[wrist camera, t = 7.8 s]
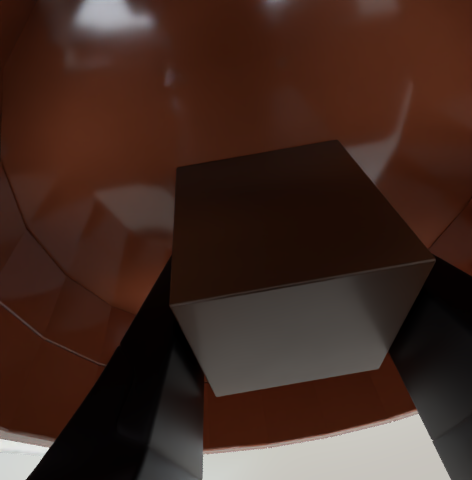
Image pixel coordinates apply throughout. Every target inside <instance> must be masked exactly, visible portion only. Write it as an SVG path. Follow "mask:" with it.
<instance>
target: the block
mask: <svg viewBox="0 0 472 480" xmlns="http://www.w3.org/2000/svg"><path fill="white" fill-rule="evenodd" d="M435 262H436V258H435V257H434V256H433V255H432V253H431V252H430V251H429V250H428V249H427V247H426V246H425V245H424V244H423V242H422V241H421V240H420V239H419V238H418V236H417V235H416V234H415V233H414V232H413V230H412V229H411V228H410V227H409V226H408V224H407V223H406V222H405V221H404V219H403V218H402V217H401V216H400V215H399V213H398V212H397V211H396V210H395V209H394V207H393V206H392V205H391V204H390V202H389V201H388V200H387V199H386V198H385V196H384V195H383V194H382V193H381V192H380V190H379V189H378V188H377V187H376V185H375V184H374V183H373V182H372V181H371V179H370V178H369V177H368V176H367V175H366V173H365V172H364V171H363V170H362V168H361V167H360V166H359V165H358V164H357V162H356V161H355V160H354V159H353V158H352V156H351V155H350V154H349V153H348V151H347V150H346V149H345V148H344V147H343V145H342V144H341V143H340V142H339V141H338V140H332V141H326V142H320V143H314V144H309V145H303V146H297V147H292V148H286V149H280V150H274V151H269V152H263V153H257V154H251V155H246V156H240V157H234V158H229V159H223V160H217V161H211V162H206V163H200V164H194V165H188V166H183V167H178V168H176V184H175V204H174V223H173V243H172V263H171V282H170V302H169V306H170V308H171V310H172V312H173V314H174V316H175V318H176V320H177V322H178V324H179V326H180V328H181V330H182V332H183V334H184V336H185V338H186V339H187V341H188V343H189V345H190V347H191V349H192V351H193V353H194V355H195V357H196V359H197V361H198V363H199V365H200V367H201V369H202V371H203V373H204V375H205V377H206V379H207V381H208V383H209V384H210V386H211V388H212V390H213V392H214V394H215V396H216V397H220V396H225V395H231V394H237V393H243V392H248V391H254V390H260V389H266V388H271V387H277V386H283V385H289V384H295V383H300V382H306V381H312V380H318V379H323V378H329V377H335V376H341V375H346V374H352V373H358V372H364V371H369V370H375V369H379V367H380V366H381V364H382V362H383V360H384V358H385V356H386V354H387V352H388V351H389V349H390V347H391V345H392V343H393V341H394V339H395V337H396V335H397V334H398V332H399V330H400V328H401V326H402V324H403V322H404V320H405V319H406V317H407V315H408V313H409V311H410V309H411V307H412V305H413V303H414V302H415V300H416V298H417V296H418V294H419V292H420V290H421V288H422V287H423V285H424V283H425V281H426V279H427V277H428V275H429V273H430V271H431V270H432V268H433V266H434V264H435Z"/></svg>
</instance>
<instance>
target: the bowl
mask: <svg viewBox="0 0 472 480" xmlns="http://www.w3.org/2000/svg"><path fill="white" fill-rule="evenodd" d="M332 140H338V141H339V142H340V143H341V144H342V145H343V147H344V148H345V149H346V150H347V151H348V153H349V154H350V155H351V156H352V158H353V159H354V160H355V161H356V162H357V164H358V165H359V166H360V167H361V168H362V170H363V171H364V172H365V173H366V175H367V176H368V177H369V178H370V179H371V181H372V182H373V183H374V184H375V185H376V187H377V188H378V189H379V190H380V192H381V193H382V194H383V195H384V196H385V198H386V199H387V200H388V201H389V202H390V204H391V205H392V206H393V207H394V209H395V210H396V211H397V212H398V213H399V215H400V216H401V217H402V218H403V219H404V221H405V222H406V223H407V224H408V226H409V227H410V228H411V229H412V230H413V232H414V233H415V234H416V235H417V236H418V238H419V239H420V240H421V241H422V242H423V244H424V245H425V246H426V247H427V249H428V250H429V251H430V252H431V253H432V254H434V255H436V256H437V257H439V258H441V259H443V260H444V261H446V262H448V263H450V264H451V265H453V266H455V267H457V268H458V269H460V270H462V271H464V272H465V273H467V274H469V275H471V276H472V0H0V439H5V440H11V441H16V442H22V443H27V444H33V445H38V446H44V447H49V448H50V447H51V445H52V444H53V443H54V441H55V440H56V438H57V437H58V436H59V434H60V433H61V431H62V430H63V429H64V427H65V426H66V424H67V423H68V422H69V420H70V419H71V417H72V416H73V415H74V413H75V412H76V410H77V409H78V408H79V406H80V405H81V403H82V402H83V400H84V399H85V397H86V396H87V395H88V393H89V392H90V390H91V389H92V387H93V386H94V384H95V383H96V381H97V380H98V378H99V377H100V375H101V373H102V372H103V370H104V368H105V367H106V365H107V364H108V362H109V360H110V359H111V357H112V355H113V354H114V352H115V350H116V348H117V347H118V346H120V342H121V340H122V338H123V337H124V335H125V333H126V332H127V330H128V328H129V326H130V325H131V323H132V321H133V320H134V318H135V316H136V315H137V313H138V311H139V309H140V308H141V306H142V304H143V303H144V301H145V299H146V297H147V296H148V294H149V292H150V291H151V289H152V287H153V285H154V284H155V282H156V280H157V279H158V277H159V275H160V273H161V272H162V270H163V268H164V267H165V265H166V263H167V262H168V260H169V258H170V256H171V255H172V243H173V223H174V204H175V184H176V168H178V167H183V166H188V165H194V164H200V163H206V162H211V161H217V160H223V159H229V158H234V157H240V156H246V155H251V154H257V153H263V152H269V151H274V150H280V149H286V148H292V147H297V146H303V145H309V144H314V143H320V142H326V141H332ZM415 414H419V413H418V411H417V409H416V407H415V405H414V403H413V401H412V399H411V397H410V395H409V393H408V391H407V389H406V386H405V384H404V382H403V380H402V378H401V376H400V374H399V372H398V370H397V368H396V366H395V364H394V362H393V360H392V358H391V356H390V354H389V352H387V354H386V356H385V358H384V360H383V362H382V364H381V366H380V367H379V369H375V370H369V371H364V372H358V373H352V374H346V375H341V376H335V377H329V378H323V379H318V380H312V381H306V382H300V383H295V384H289V385H283V386H277V387H271V388H266V389H260V390H254V391H248V392H243V393H237V394H231V395H225V396H220V397H216V396H215V394H214V392H213V390H212V388H211V386H210V384H209V383H208V381H207V379H206V377H205V375H204V416H203V454H214V453H224V452H234V451H244V450H254V449H264V448H267V447H268V448H272V447H278V446H283V445H289V444H294V443H301V442H306V441H312V440H318V439H324V438H328V437H333V436H337V435H342V434H346V433H350V432H354V431H358V430H362V429H366V428H370V427H374V426H378V425H382V424H386V423H391V422H392V421H396V420H400V419H403V418H406V417H409V416H412V415H415Z"/></svg>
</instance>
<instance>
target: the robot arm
mask: <svg viewBox="0 0 472 480" xmlns="http://www.w3.org/2000/svg"><path fill="white" fill-rule="evenodd" d="M432 255H433V256H434V257H435V258H436V262H435V264H434V266H433V268H432V270H431V271H430V273H429V275H428V277H427V279H426V281H425V283H424V285H423V287H422V288H421V290H420V292H419V294H418V296H417V298H416V300H415V302H414V303H413V305H412V307H411V309H410V311H409V313H408V315H407V317H406V319H405V320H404V322H403V324H402V326H401V328H400V330H399V332H398V334H397V335H396V337H395V339H394V341H393V343H392V345H391V347H390V349H389V351H388V352H389V354H390V356H391V358H392V360H393V362H394V364H395V366H396V368H397V370H398V372H399V374H400V376H401V378H402V380H403V382H404V384H405V386H406V389H407V391H408V393H409V395H410V397H411V399H412V401H413V403H414V405H415V407H416V409H417V411H418V413H419V415H420V417H421V419H422V421H423V423H424V425H425V427H426V429H427V431H428V433H429V435H430V437H431V439H432V440H433V444H434V446H435V447H436V450H437V452H438V454H439V456H440V458H441V460H442V462H443V464H444V466H445V468H446V470H447V472H448V474H449V476H450V478H451V480H472V276H471V275H469V274H467V273H465V272H464V271H462V270H460V269H458V268H457V267H455V266H453V265H451V264H450V263H448V262H446V261H444V260H443V259H441V258H439V257H437V256H436V255H434V254H432ZM171 263H172V255H171V256H170V258H169V260H168V262H167V263H166V265H165V267H164V268H163V270H162V272H161V273H160V275H159V277H158V279H157V280H156V282H155V284H154V285H153V287H152V289H151V291H150V292H149V294H148V296H147V297H146V299H145V301H144V303H143V304H142V306H141V308H140V309H139V311H138V313H137V315H136V316H135V318H134V320H133V321H132V323H131V325H130V326H129V328H128V330H127V332H126V333H125V335H124V337H123V338H122V340H121V342H120V346H118V347H117V348H116V350H115V352H114V354H113V355H112V357H111V359H110V360H109V362H108V364H107V365H106V367H105V368H104V370H103V372H102V373H101V375H100V377H99V378H98V380H97V381H96V383H95V384H94V386H93V387H92V389H91V390H90V392H89V393H88V395H87V396H86V397H85V399H84V400H83V402H82V403H81V405H80V406H79V408H78V409H77V410H76V412H75V413H74V415H73V416H72V417H71V419H70V420H69V422H68V423H67V424H66V426H65V427H64V429H63V430H62V431H61V433H60V434H59V436H58V437H57V438H56V440H55V441H54V443H53V444H52V445H51V447H50V448H49V450H48V451H47V452H46V454H45V455H44V457H43V458H42V460H41V461H40V463H39V464H38V465H37V467H36V468H35V469H34V471H33V472H32V473H31V474H30V475H29V476H28V478H27V479H26V480H202V472H203V416H204V373H203V371H202V369H201V367H200V365H199V363H198V361H197V359H196V357H195V355H194V353H193V351H192V349H191V347H190V345H189V343H188V341H187V339H186V338H185V336H184V334H183V332H182V330H181V328H180V326H179V324H178V322H177V320H176V318H175V316H174V314H173V312H172V310H171V308H170V306H169V302H170V282H171Z"/></svg>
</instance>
